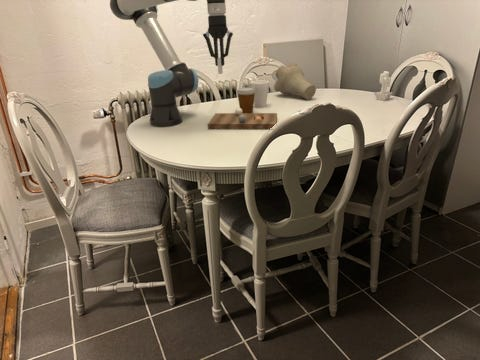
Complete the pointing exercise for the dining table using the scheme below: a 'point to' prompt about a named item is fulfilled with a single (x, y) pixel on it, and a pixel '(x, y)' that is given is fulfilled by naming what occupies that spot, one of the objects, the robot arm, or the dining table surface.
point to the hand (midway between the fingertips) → (220, 73)
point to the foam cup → (260, 93)
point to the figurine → (384, 87)
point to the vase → (293, 82)
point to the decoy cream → (238, 111)
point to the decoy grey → (241, 118)
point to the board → (250, 123)
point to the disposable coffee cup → (246, 99)
